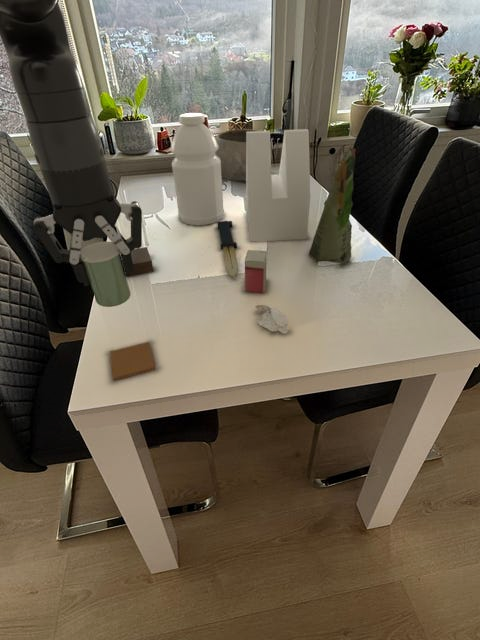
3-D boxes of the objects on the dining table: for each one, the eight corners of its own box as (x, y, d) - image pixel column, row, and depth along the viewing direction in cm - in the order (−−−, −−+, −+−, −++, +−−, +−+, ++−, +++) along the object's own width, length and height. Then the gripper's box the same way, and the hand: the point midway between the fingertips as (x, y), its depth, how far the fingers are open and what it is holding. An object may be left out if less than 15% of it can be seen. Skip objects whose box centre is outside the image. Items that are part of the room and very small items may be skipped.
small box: (248, 280, 86) (247, 249, 81) (266, 281, 85) (267, 250, 80) (244, 292, 82) (243, 260, 77) (264, 293, 81) (264, 261, 76)
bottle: (233, 215, 115) (228, 113, 98) (200, 230, 108) (189, 122, 90) (202, 204, 123) (193, 108, 106) (169, 218, 115) (153, 116, 98)
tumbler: (95, 311, 55) (79, 263, 50) (93, 291, 59) (78, 245, 54) (134, 302, 56) (121, 255, 51) (129, 283, 60) (117, 238, 55)
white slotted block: (246, 213, 116) (244, 124, 101) (296, 211, 116) (301, 122, 101) (250, 241, 101) (248, 141, 86) (306, 239, 101) (315, 138, 86)
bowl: (219, 189, 135) (216, 144, 125) (207, 171, 152) (204, 130, 143) (280, 181, 139) (281, 137, 130) (261, 164, 156) (261, 125, 147)
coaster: (113, 380, 62) (113, 378, 62) (110, 353, 68) (109, 351, 67) (155, 369, 64) (154, 366, 64) (149, 344, 69) (148, 341, 69)
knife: (231, 220, 109) (243, 273, 85) (232, 225, 110) (243, 279, 86) (217, 221, 108) (225, 274, 85) (217, 226, 109) (225, 280, 86)
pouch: (338, 243, 98) (352, 141, 83) (364, 264, 90) (385, 154, 74) (299, 251, 96) (307, 147, 80) (322, 273, 87) (336, 161, 71)
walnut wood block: (127, 276, 89) (124, 265, 87) (123, 262, 94) (121, 251, 92) (153, 271, 90) (151, 260, 88) (149, 257, 96) (146, 246, 94)
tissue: (280, 308, 77) (281, 293, 74) (290, 333, 70) (291, 317, 68) (253, 311, 76) (253, 296, 74) (261, 337, 70) (261, 321, 68)
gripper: (128, 144, 49) (151, 257, 60) (10, 158, 46) (57, 276, 56) (136, 158, 44) (160, 281, 54) (2, 176, 40) (55, 303, 51)
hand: (107, 278), depth 55 cm, fingers closed on tumbler, 5 cm apart
